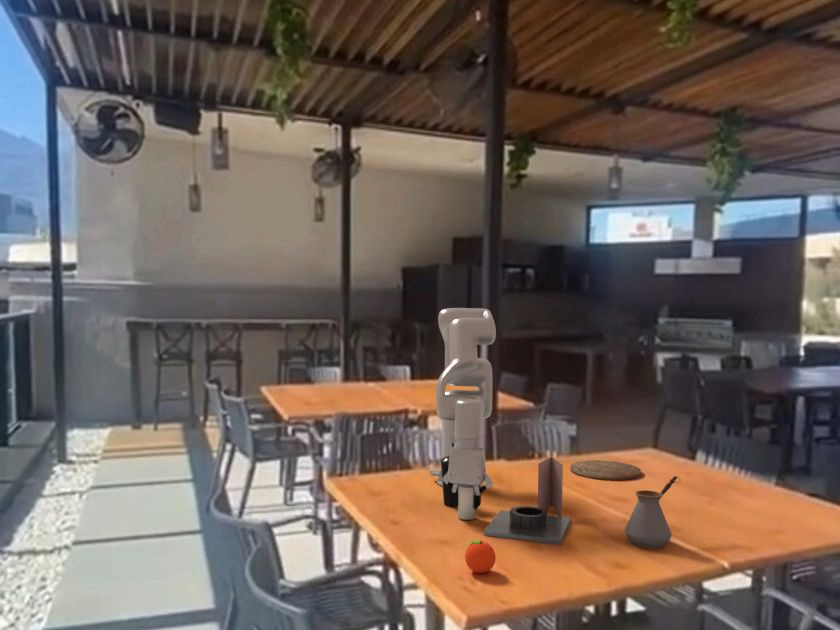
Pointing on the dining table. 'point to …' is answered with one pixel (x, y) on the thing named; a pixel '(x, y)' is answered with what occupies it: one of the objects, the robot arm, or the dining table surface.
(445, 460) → the drinking cup
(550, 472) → the greeting card
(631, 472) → the trivet
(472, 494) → the round-ended cylinder
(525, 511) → the square plate with ring
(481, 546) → the clementine
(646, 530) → the coffee pot
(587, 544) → the dining table surface
